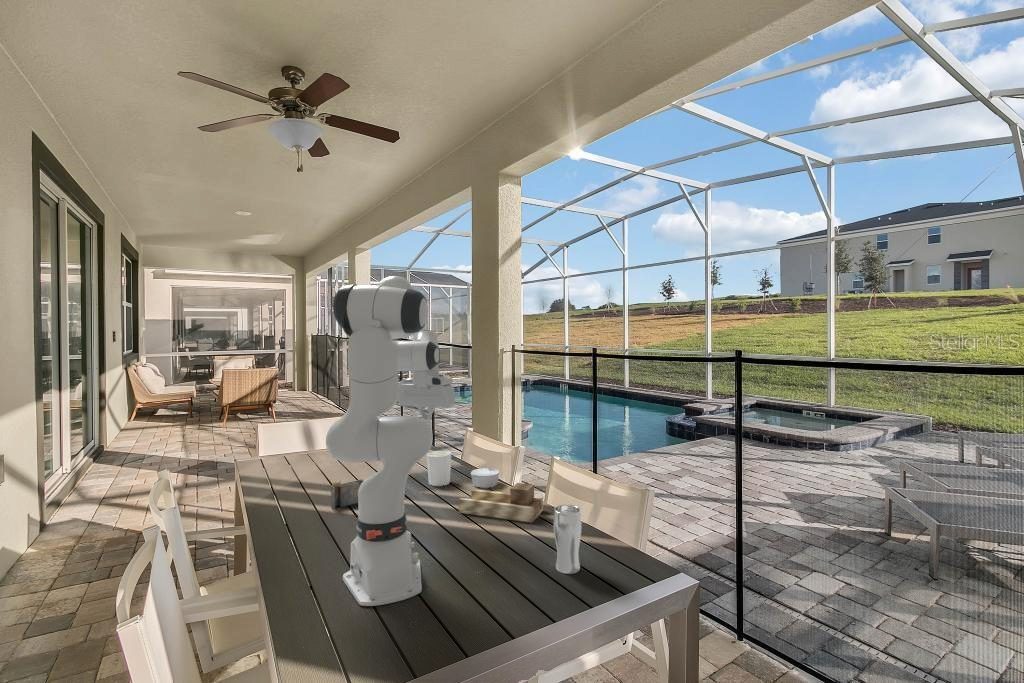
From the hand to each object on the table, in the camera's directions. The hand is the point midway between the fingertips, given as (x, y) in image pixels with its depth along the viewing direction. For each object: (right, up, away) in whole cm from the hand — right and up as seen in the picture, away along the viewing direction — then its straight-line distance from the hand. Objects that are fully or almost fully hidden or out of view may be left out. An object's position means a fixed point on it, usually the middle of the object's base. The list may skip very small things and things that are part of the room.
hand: (426, 420), depth 159 cm
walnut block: (+32, -29, -2) cm, 44 cm away
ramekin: (+18, -31, +30) cm, 47 cm away
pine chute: (+25, -31, +1) cm, 40 cm away
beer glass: (+43, -31, -39) cm, 66 cm away
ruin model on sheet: (-29, -32, +10) cm, 45 cm away
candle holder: (-1, -31, +33) cm, 45 cm away
